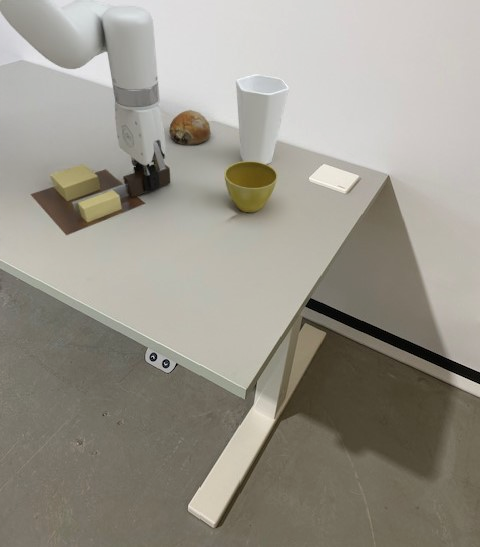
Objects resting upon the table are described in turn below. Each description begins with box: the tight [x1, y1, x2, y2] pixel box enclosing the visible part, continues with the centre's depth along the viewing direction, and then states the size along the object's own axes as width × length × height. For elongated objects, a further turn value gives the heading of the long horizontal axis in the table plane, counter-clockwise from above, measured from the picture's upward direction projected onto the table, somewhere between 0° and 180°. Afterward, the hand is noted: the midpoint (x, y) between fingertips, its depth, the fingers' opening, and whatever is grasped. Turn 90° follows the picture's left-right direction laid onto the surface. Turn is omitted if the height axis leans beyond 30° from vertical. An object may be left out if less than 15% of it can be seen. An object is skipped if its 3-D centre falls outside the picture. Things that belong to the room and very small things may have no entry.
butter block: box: [49, 163, 100, 201], centre depth 82 cm, size 7×6×3 cm
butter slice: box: [78, 190, 122, 223], centre depth 77 cm, size 7×2×3 cm, turn 131°
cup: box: [235, 73, 290, 165], centre depth 92 cm, size 11×10×17 cm
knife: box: [72, 164, 171, 215], centre depth 80 cm, size 20×2×4 cm, turn 131°
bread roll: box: [168, 109, 211, 146], centre depth 103 cm, size 10×10×8 cm
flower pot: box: [223, 160, 278, 213], centre depth 82 cm, size 10×10×7 cm
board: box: [30, 168, 146, 236], centre depth 81 cm, size 16×16×2 cm
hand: (148, 185), depth 84 cm, fingers closed on knife, 2 cm apart
